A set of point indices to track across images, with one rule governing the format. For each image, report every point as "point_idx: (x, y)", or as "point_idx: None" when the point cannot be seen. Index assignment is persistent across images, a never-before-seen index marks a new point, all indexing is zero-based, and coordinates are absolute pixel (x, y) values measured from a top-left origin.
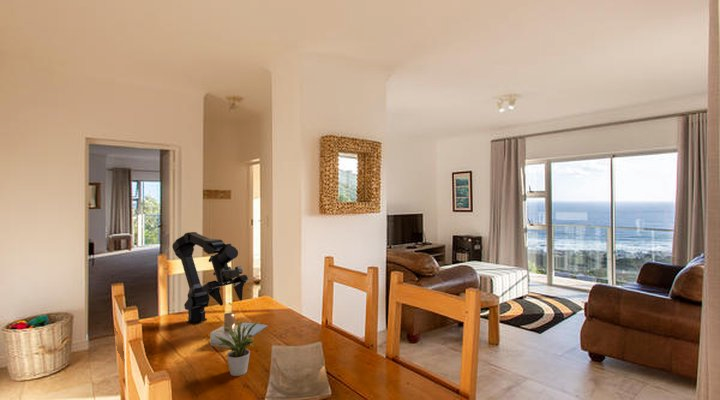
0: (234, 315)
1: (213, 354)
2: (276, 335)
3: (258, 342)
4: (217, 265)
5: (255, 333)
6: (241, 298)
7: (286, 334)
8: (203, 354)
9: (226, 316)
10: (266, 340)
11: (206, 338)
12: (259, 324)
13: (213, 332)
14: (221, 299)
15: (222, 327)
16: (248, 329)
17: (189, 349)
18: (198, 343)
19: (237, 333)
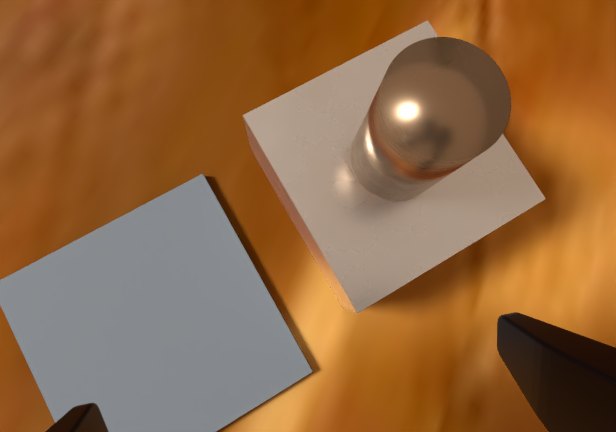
0: (400, 56)
1: (516, 76)
2: (72, 75)
3: (231, 53)
4: None
5: (164, 194)
6: (75, 416)
7: (10, 44)
8: (562, 115)
9: (495, 70)
10: (175, 47)
11: (470, 366)
12: (27, 352)
13: (525, 180)
14: (586, 360)
15: (423, 246)
16: (161, 302)
17: (612, 247)
18: (541, 309)
19: (375, 49)
